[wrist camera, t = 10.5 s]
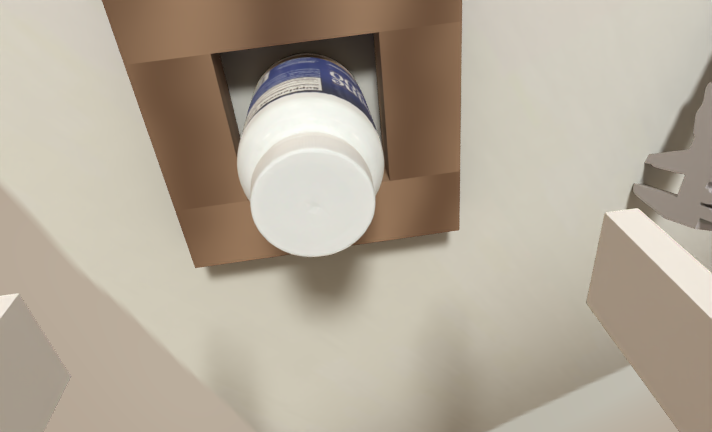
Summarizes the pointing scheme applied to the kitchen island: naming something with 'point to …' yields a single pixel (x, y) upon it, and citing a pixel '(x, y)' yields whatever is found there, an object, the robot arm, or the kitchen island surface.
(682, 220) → the caliper
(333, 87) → the pill bottle
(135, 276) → the kitchen island surface
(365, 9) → the holder block
